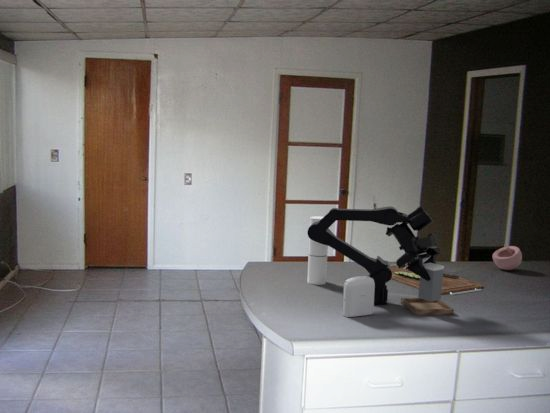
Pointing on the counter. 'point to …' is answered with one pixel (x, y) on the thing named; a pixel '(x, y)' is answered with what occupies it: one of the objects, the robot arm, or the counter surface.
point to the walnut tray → (426, 307)
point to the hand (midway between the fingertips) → (433, 279)
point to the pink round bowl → (507, 257)
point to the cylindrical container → (317, 259)
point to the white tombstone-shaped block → (358, 296)
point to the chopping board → (448, 283)
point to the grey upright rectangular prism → (431, 282)
